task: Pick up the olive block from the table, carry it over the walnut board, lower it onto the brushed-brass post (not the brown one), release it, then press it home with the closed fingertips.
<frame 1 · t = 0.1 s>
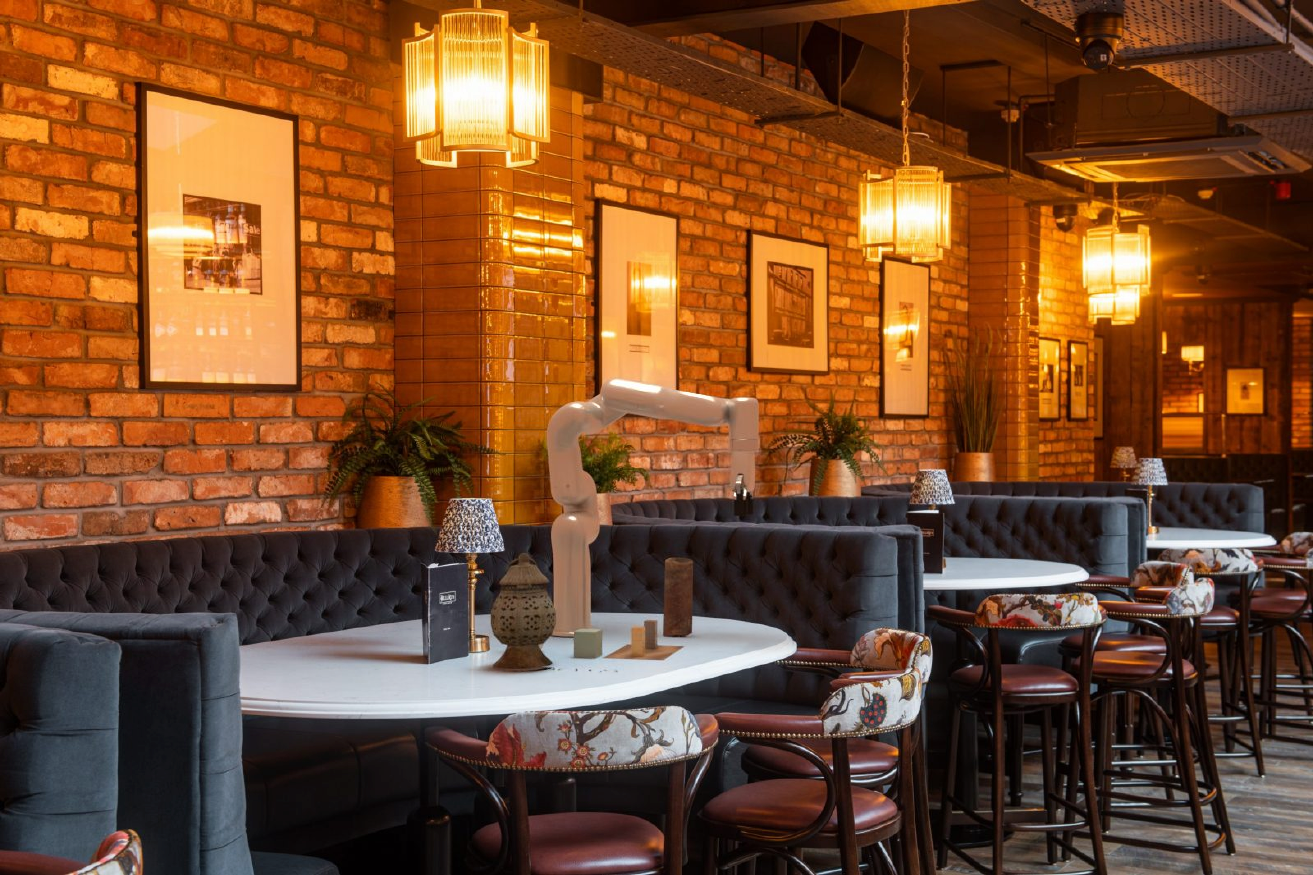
hand: (743, 515, 344), 31 cm above the table, tool pointing down, fingers open, 9 cm apart
olive block: (588, 659, 312), on the table
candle: (678, 638, 348), on the table
board: (644, 655, 318), on the table
brown post: (650, 648, 324), resting on board
brass post: (638, 655, 312), resting on board
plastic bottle: (529, 652, 325), on the table
lantern: (523, 667, 302), on the table
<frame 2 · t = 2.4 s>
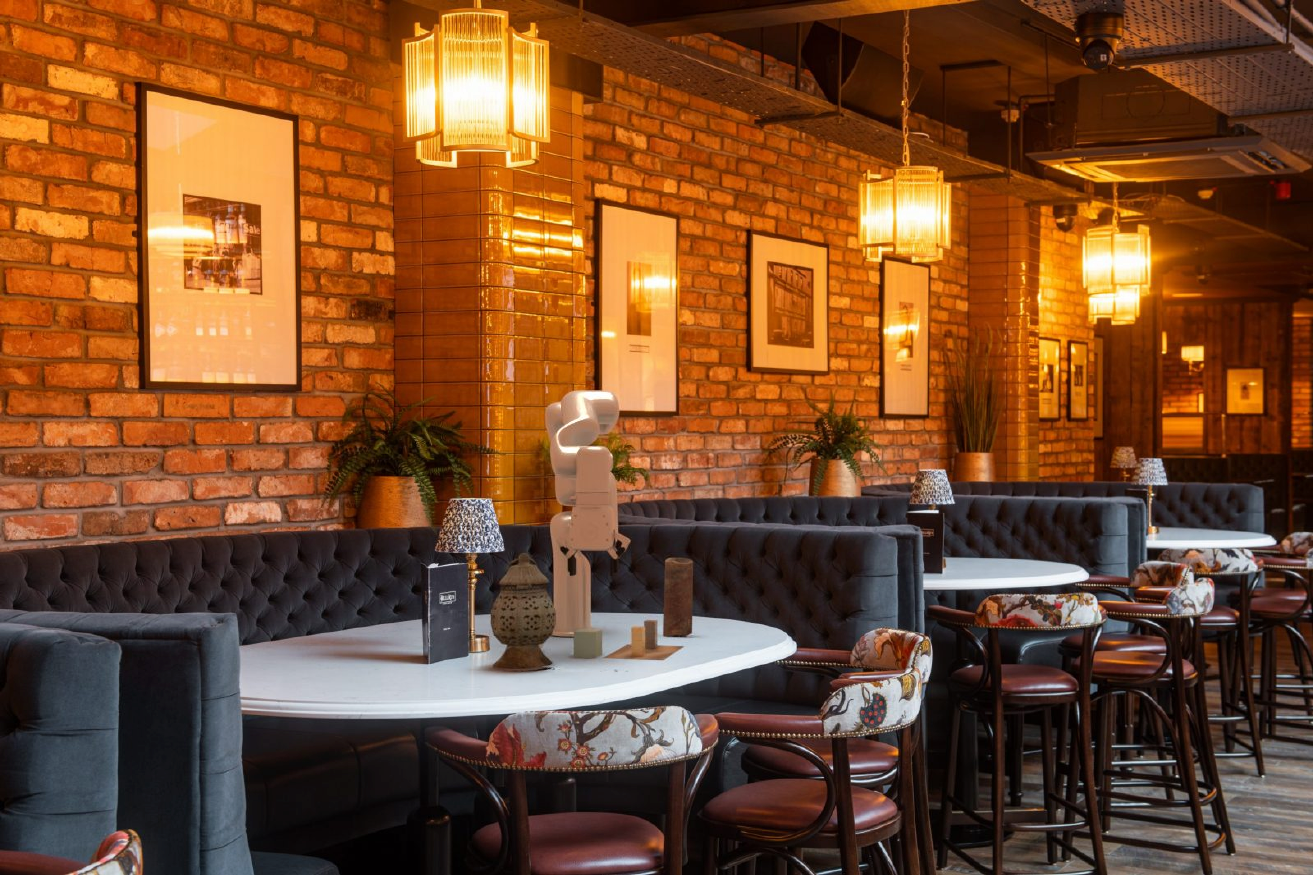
hand: (593, 575, 313), 19 cm above the table, tool pointing down, fingers open, 9 cm apart
nothing on the table moved.
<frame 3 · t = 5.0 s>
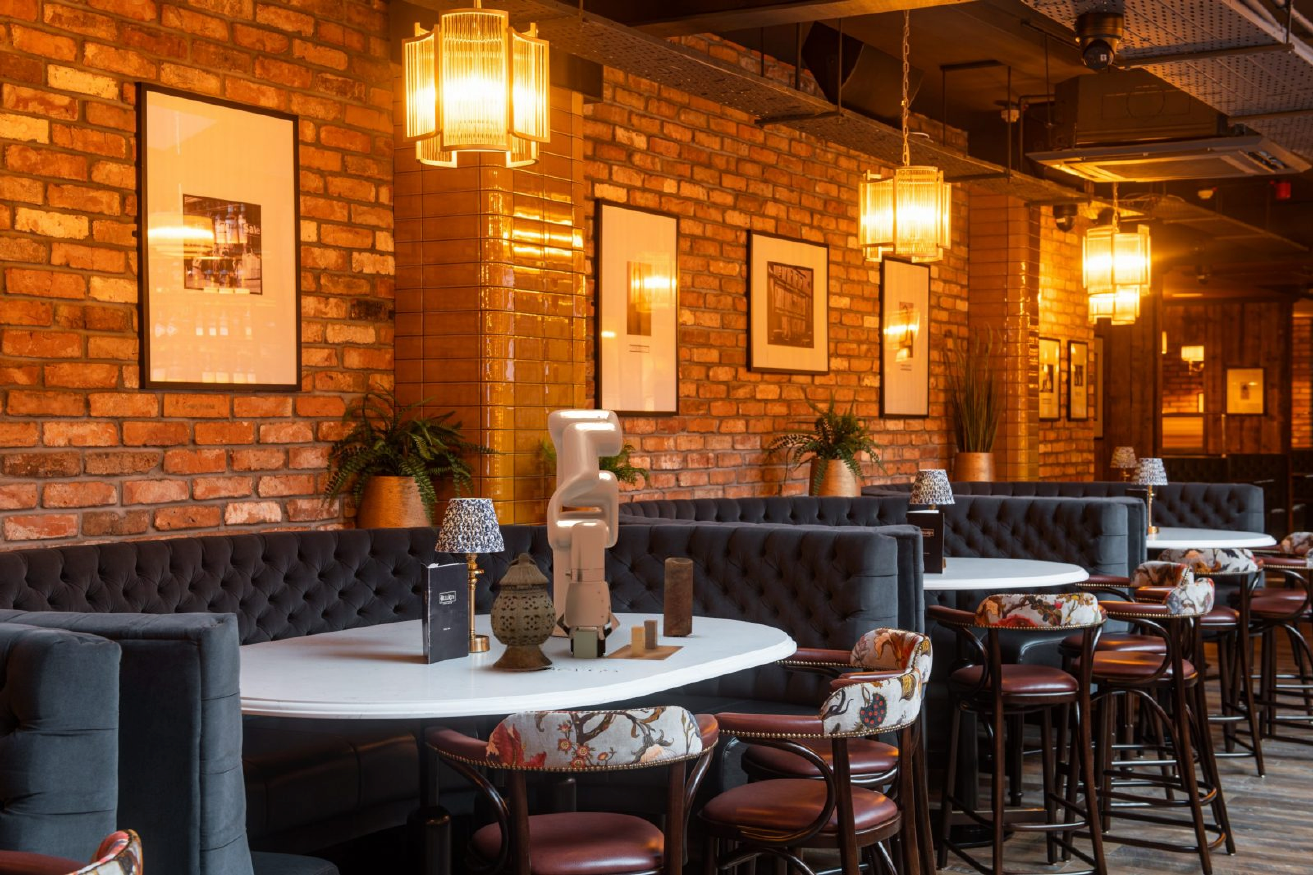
hand: (588, 655, 312), 1 cm above the table, tool pointing down, fingers closed on olive block, 5 cm apart
olive block: (588, 659, 312), on the table, touching gripper
everything else where it was.
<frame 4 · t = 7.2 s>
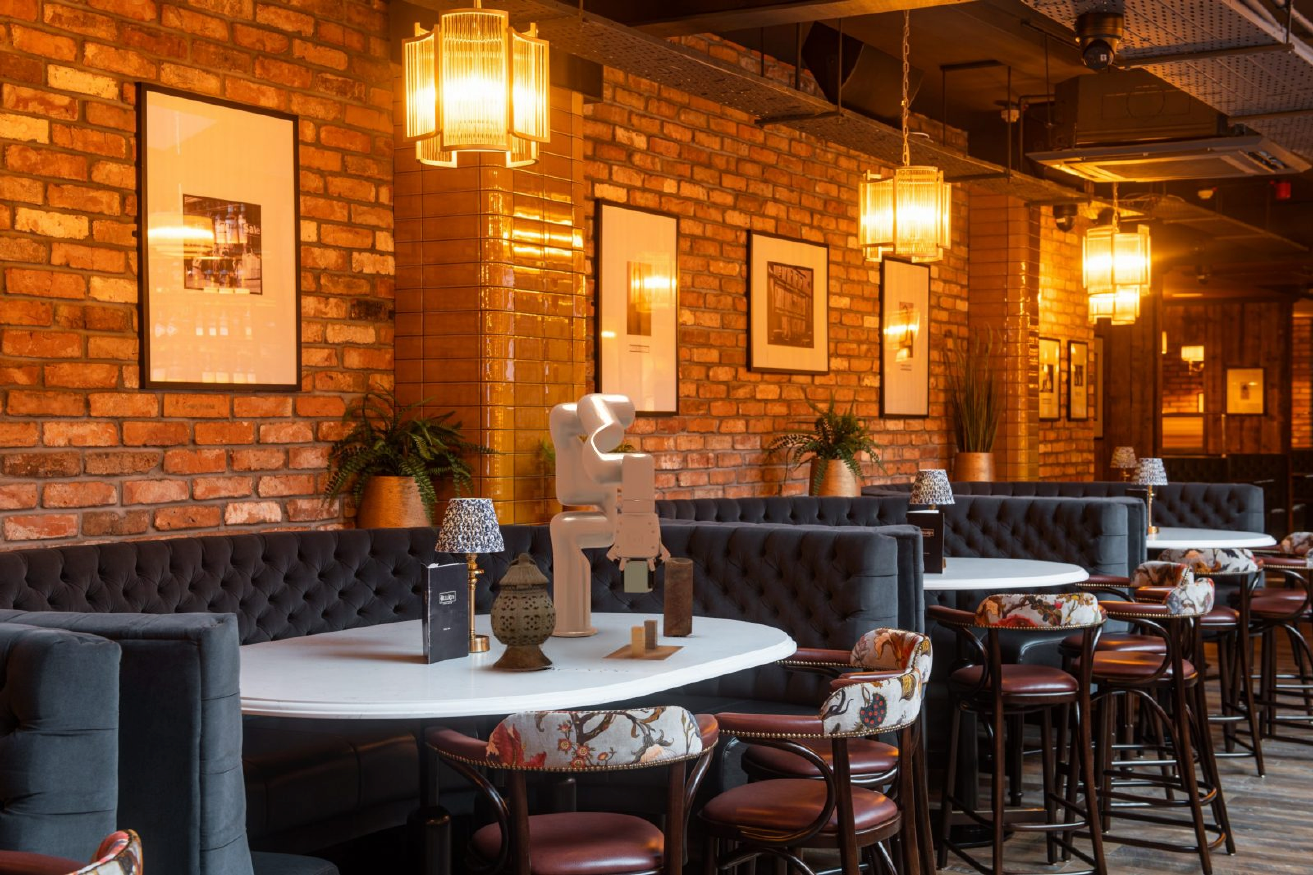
hand: (638, 587, 312), 16 cm above the table, tool pointing down, fingers closed on olive block, 5 cm apart
olive block: (638, 591, 312), point 15 cm above the table, touching gripper
everything else where it was.
when the fingers open (3 cm above the table, at t = 9.6 s): olive block drops 1 cm, resting on brass post.
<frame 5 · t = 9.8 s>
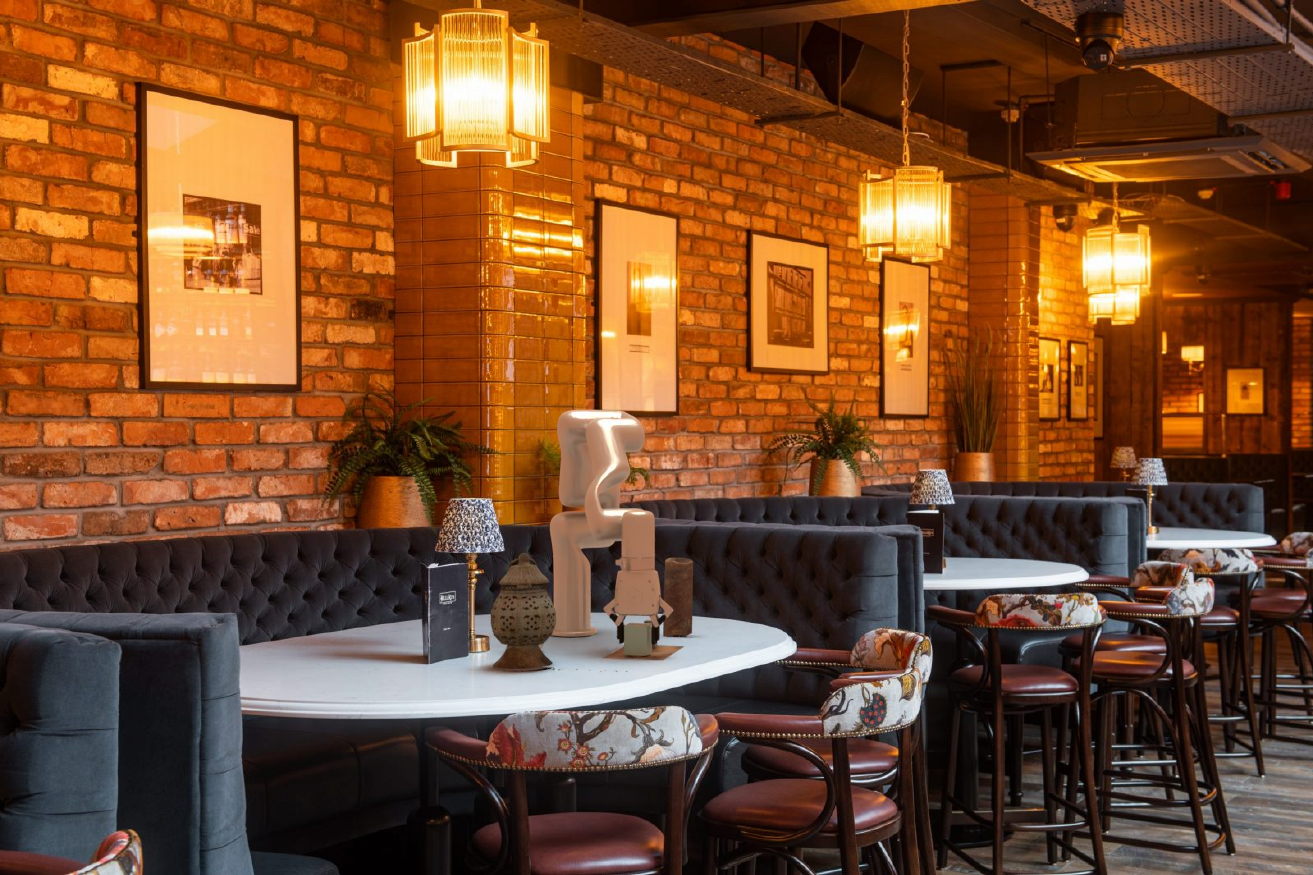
hand: (638, 642, 312), 4 cm above the table, tool pointing down, fingers open, 7 cm apart
olive block: (638, 653, 312), point 1 cm above the table, touching brass post
everything else where it was.
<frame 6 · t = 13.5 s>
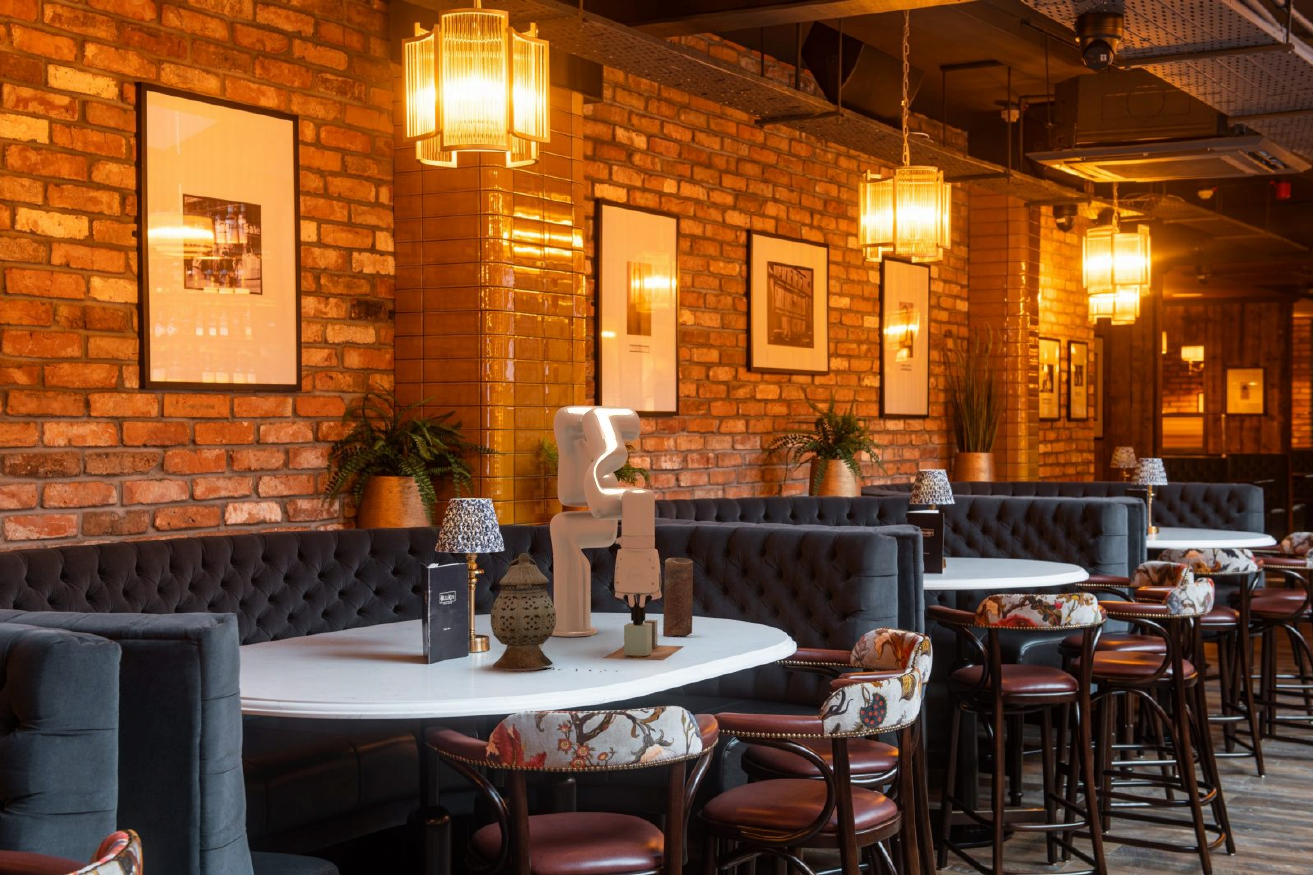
hand: (638, 624, 312), 8 cm above the table, tool pointing down, fingers closed
nothing on the table moved.
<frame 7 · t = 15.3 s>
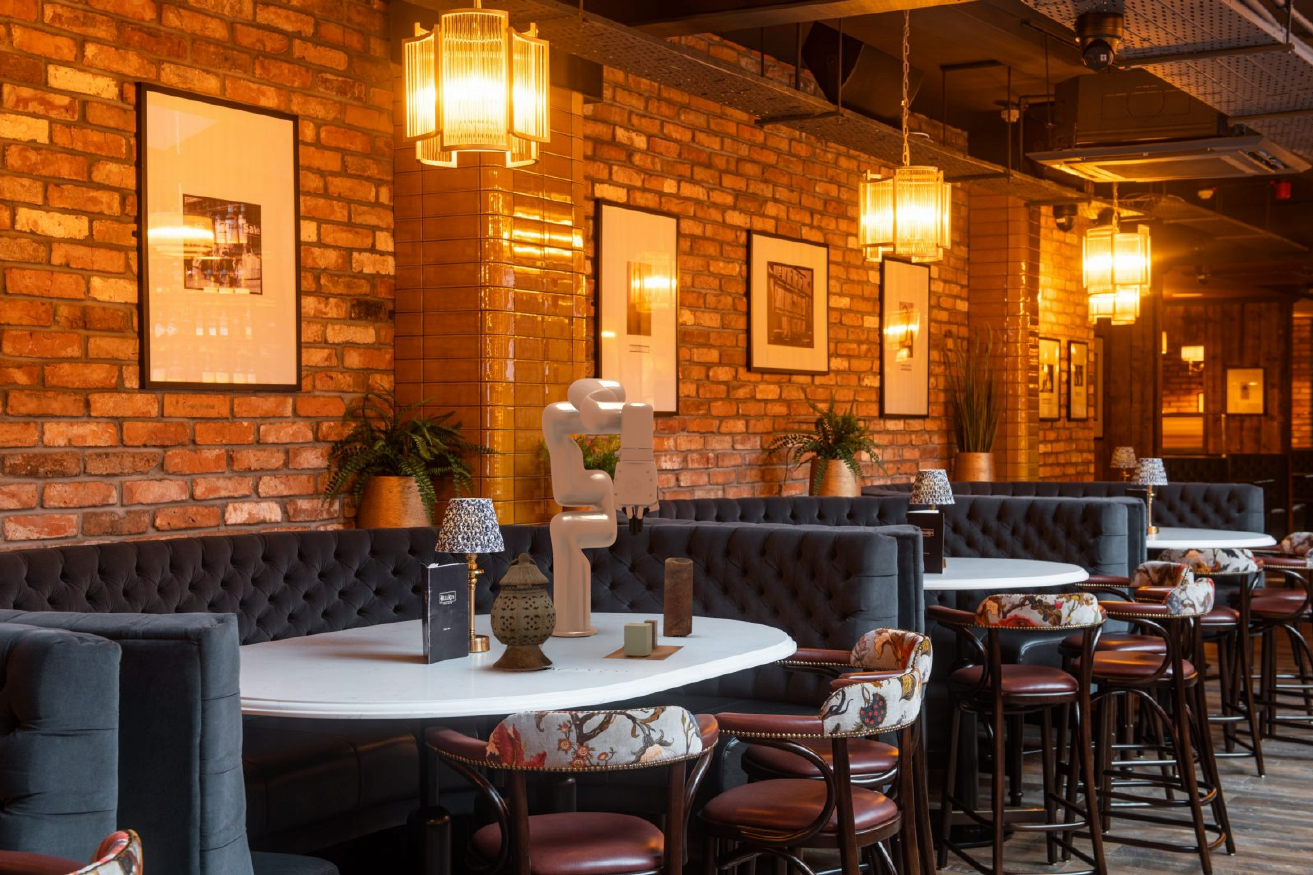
hand: (636, 535, 317), 28 cm above the table, tool pointing down, fingers closed
nothing on the table moved.
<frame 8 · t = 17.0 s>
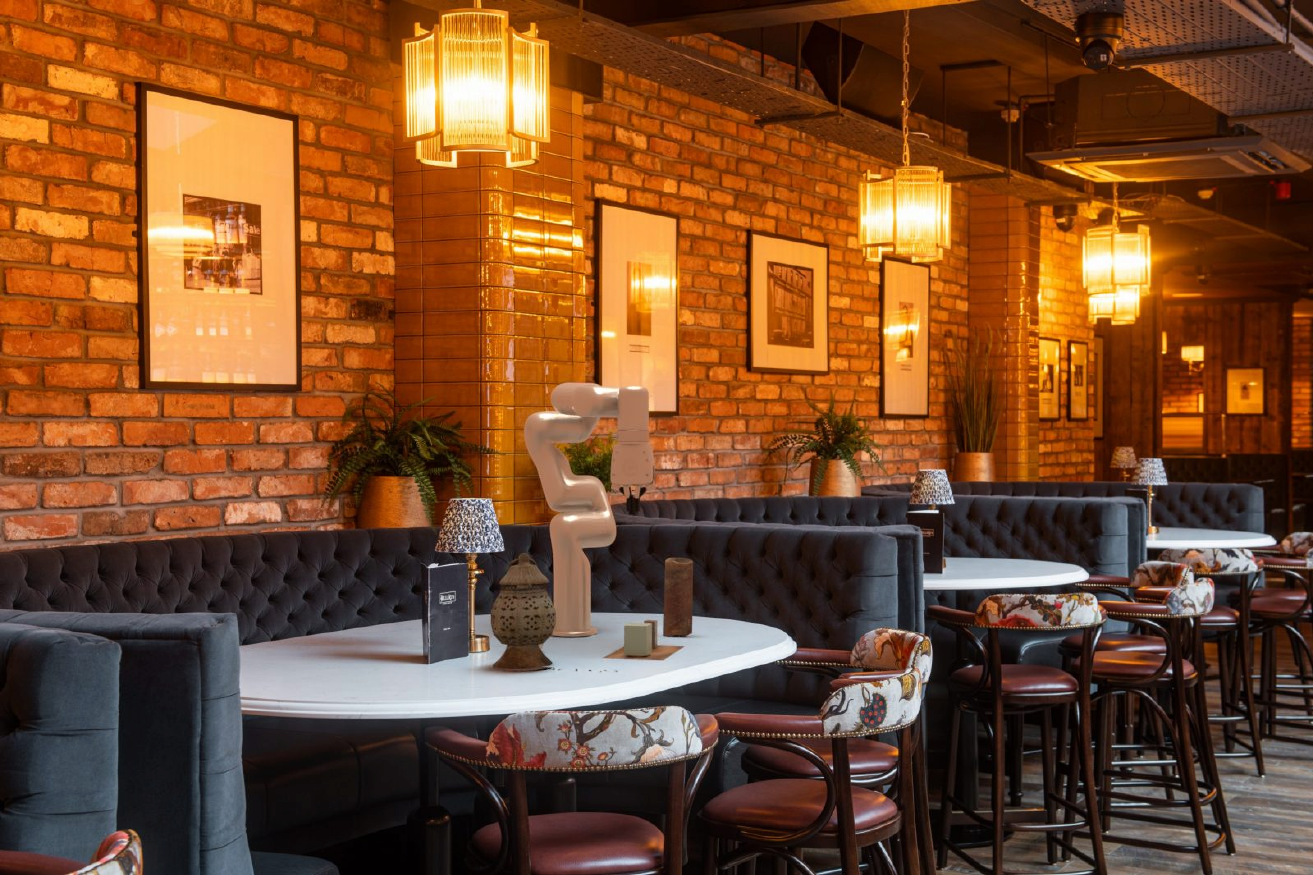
hand: (633, 514, 328), 32 cm above the table, tool pointing down, fingers closed
nothing on the table moved.
at the end: olive block 0.0 cm from the brass post (horizontally); olive block point 1.3 cm above the table; the gripper is holding nothing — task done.
